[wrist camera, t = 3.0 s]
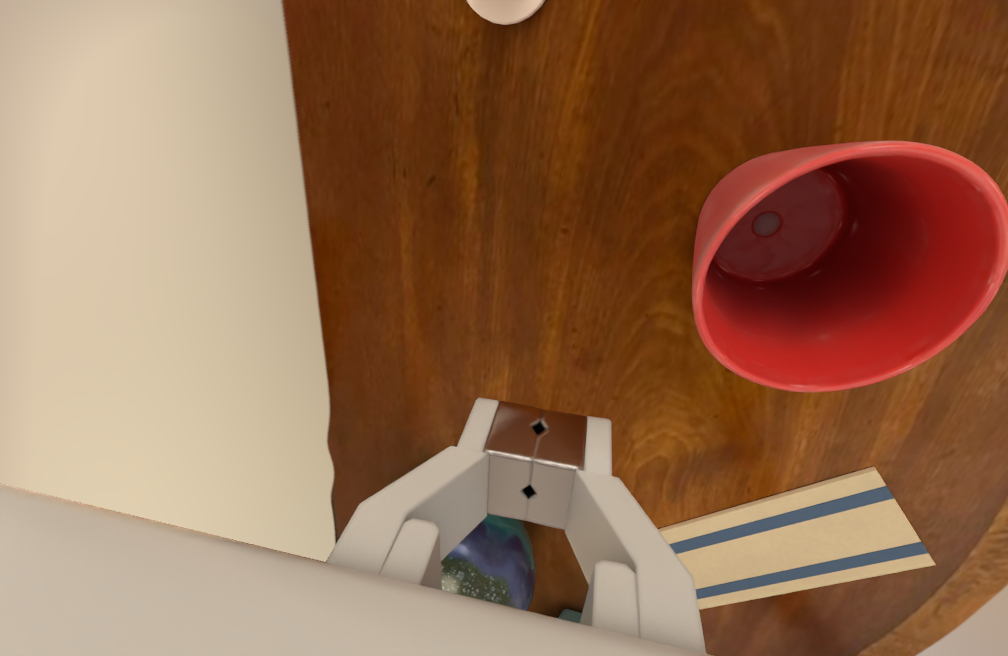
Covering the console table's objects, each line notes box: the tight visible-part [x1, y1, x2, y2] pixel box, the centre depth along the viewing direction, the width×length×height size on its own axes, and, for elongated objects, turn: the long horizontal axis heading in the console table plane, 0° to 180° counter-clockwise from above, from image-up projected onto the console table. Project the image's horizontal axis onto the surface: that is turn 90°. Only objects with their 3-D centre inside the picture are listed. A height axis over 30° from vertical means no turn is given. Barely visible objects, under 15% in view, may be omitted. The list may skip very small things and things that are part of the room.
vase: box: [441, 514, 536, 611], centre depth 39 cm, size 15×15×13 cm
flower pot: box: [692, 141, 1008, 392], centre depth 22 cm, size 11×11×10 cm
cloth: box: [658, 467, 935, 609], centre depth 39 cm, size 20×12×1 cm, turn 130°
